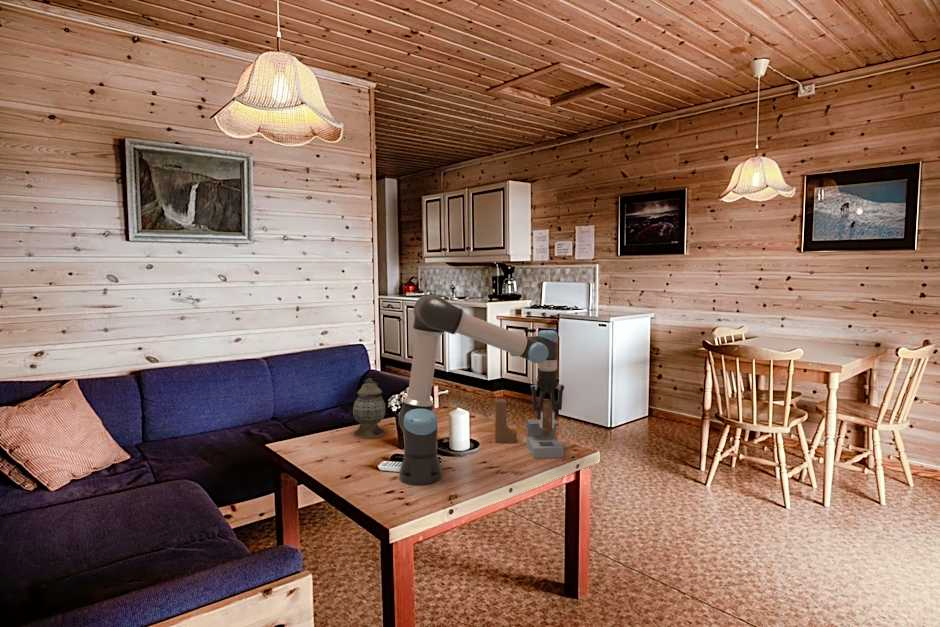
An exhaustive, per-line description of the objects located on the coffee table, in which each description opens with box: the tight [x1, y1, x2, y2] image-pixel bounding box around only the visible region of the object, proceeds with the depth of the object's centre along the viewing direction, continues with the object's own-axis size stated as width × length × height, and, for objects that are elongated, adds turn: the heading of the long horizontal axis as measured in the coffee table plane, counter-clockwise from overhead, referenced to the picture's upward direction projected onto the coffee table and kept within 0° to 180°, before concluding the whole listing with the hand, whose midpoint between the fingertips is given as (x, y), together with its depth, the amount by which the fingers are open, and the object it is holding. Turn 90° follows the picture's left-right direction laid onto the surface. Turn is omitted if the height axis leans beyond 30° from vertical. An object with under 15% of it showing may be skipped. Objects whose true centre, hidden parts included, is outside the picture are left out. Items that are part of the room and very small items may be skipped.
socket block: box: [525, 418, 565, 459], centre depth 231 cm, size 12×16×11 cm
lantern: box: [352, 377, 386, 440], centre depth 253 cm, size 14×14×25 cm
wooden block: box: [494, 398, 518, 444], centre depth 243 cm, size 9×4×18 cm, turn 89°
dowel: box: [541, 398, 553, 436], centre depth 227 cm, size 4×4×14 cm
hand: (546, 427), depth 228 cm, fingers closed on dowel, 4 cm apart
